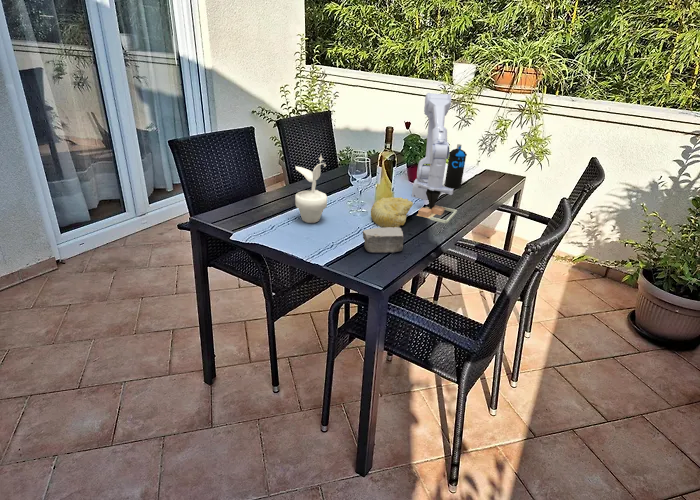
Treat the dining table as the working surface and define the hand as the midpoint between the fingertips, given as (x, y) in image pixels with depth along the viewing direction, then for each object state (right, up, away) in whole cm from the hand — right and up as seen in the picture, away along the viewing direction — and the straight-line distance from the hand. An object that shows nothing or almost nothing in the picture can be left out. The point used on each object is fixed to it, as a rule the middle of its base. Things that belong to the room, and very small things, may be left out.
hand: (431, 208), depth 180 cm
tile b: (-3, -3, -4) cm, 6 cm away
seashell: (-17, -7, -9) cm, 20 cm away
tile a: (+2, -2, -1) cm, 3 cm away
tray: (+4, -5, -3) cm, 7 cm away
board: (-1, -3, 0) cm, 3 cm away
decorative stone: (-21, -17, -30) cm, 40 cm away
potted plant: (-48, -6, -11) cm, 49 cm away
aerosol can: (+17, +14, +37) cm, 43 cm away
